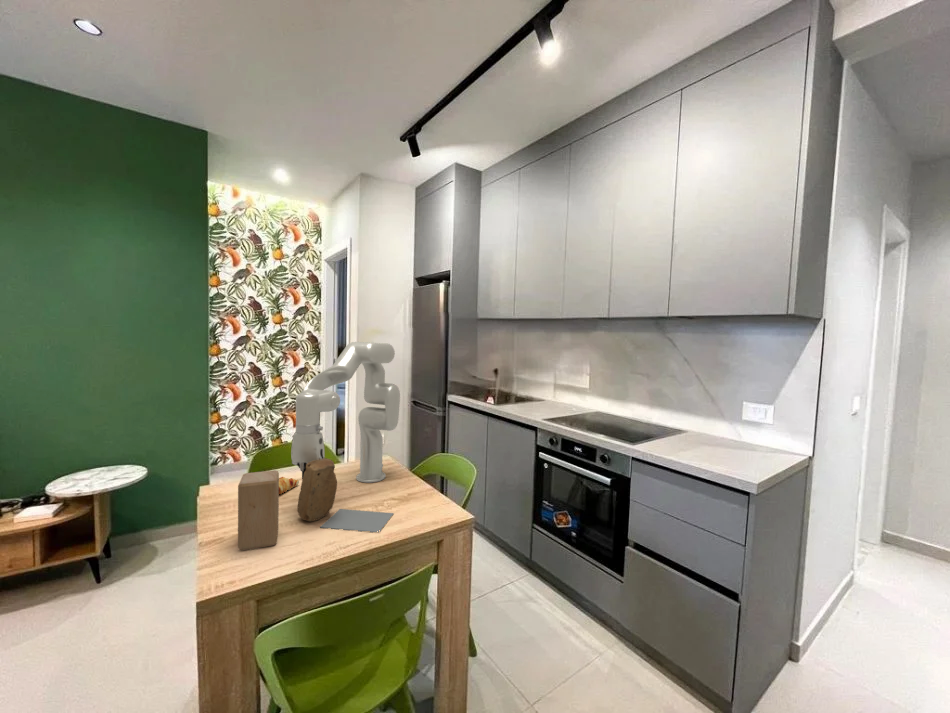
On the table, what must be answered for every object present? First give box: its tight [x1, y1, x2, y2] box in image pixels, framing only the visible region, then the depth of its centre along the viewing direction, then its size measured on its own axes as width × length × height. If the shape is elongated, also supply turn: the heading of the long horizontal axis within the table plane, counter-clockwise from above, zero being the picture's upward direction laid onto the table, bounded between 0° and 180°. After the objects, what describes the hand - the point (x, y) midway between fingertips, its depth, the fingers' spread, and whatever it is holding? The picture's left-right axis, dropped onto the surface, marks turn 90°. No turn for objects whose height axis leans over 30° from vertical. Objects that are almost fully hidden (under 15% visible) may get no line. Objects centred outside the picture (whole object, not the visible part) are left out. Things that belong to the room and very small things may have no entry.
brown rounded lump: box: [296, 457, 338, 522], centre depth 134 cm, size 11×8×20 cm
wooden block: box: [237, 469, 280, 552], centre depth 118 cm, size 10×10×20 cm
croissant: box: [279, 476, 300, 495], centre depth 155 cm, size 21×10×8 cm, turn 147°
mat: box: [319, 508, 394, 533], centre depth 134 cm, size 14×20×1 cm
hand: (307, 481), depth 136 cm, fingers closed
